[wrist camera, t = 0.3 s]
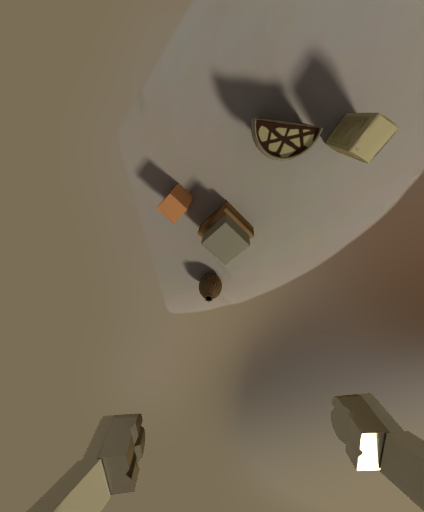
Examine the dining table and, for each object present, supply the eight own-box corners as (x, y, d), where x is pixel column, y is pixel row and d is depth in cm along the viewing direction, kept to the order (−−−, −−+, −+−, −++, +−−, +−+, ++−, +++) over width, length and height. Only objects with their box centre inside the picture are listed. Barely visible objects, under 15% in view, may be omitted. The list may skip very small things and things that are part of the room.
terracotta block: (178, 182, 55) (170, 193, 48) (193, 197, 56) (187, 209, 50) (166, 196, 57) (156, 208, 50) (180, 210, 59) (173, 223, 52)
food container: (244, 148, 49) (245, 157, 41) (249, 116, 46) (252, 118, 37) (300, 156, 49) (312, 167, 41) (310, 124, 45) (326, 128, 37)
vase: (197, 281, 72) (192, 301, 65) (206, 266, 68) (202, 285, 61) (216, 290, 73) (213, 310, 66) (226, 275, 69) (225, 295, 62)
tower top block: (226, 213, 53) (225, 222, 49) (249, 235, 56) (249, 245, 51) (203, 233, 57) (201, 244, 52) (225, 253, 59) (224, 264, 55)
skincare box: (340, 153, 48) (367, 166, 38) (323, 142, 47) (347, 153, 37) (364, 122, 44) (401, 127, 34) (347, 110, 44) (380, 112, 33)
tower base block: (227, 200, 56) (226, 207, 52) (253, 226, 60) (254, 235, 55) (200, 225, 61) (197, 233, 57) (225, 248, 64) (225, 258, 60)
